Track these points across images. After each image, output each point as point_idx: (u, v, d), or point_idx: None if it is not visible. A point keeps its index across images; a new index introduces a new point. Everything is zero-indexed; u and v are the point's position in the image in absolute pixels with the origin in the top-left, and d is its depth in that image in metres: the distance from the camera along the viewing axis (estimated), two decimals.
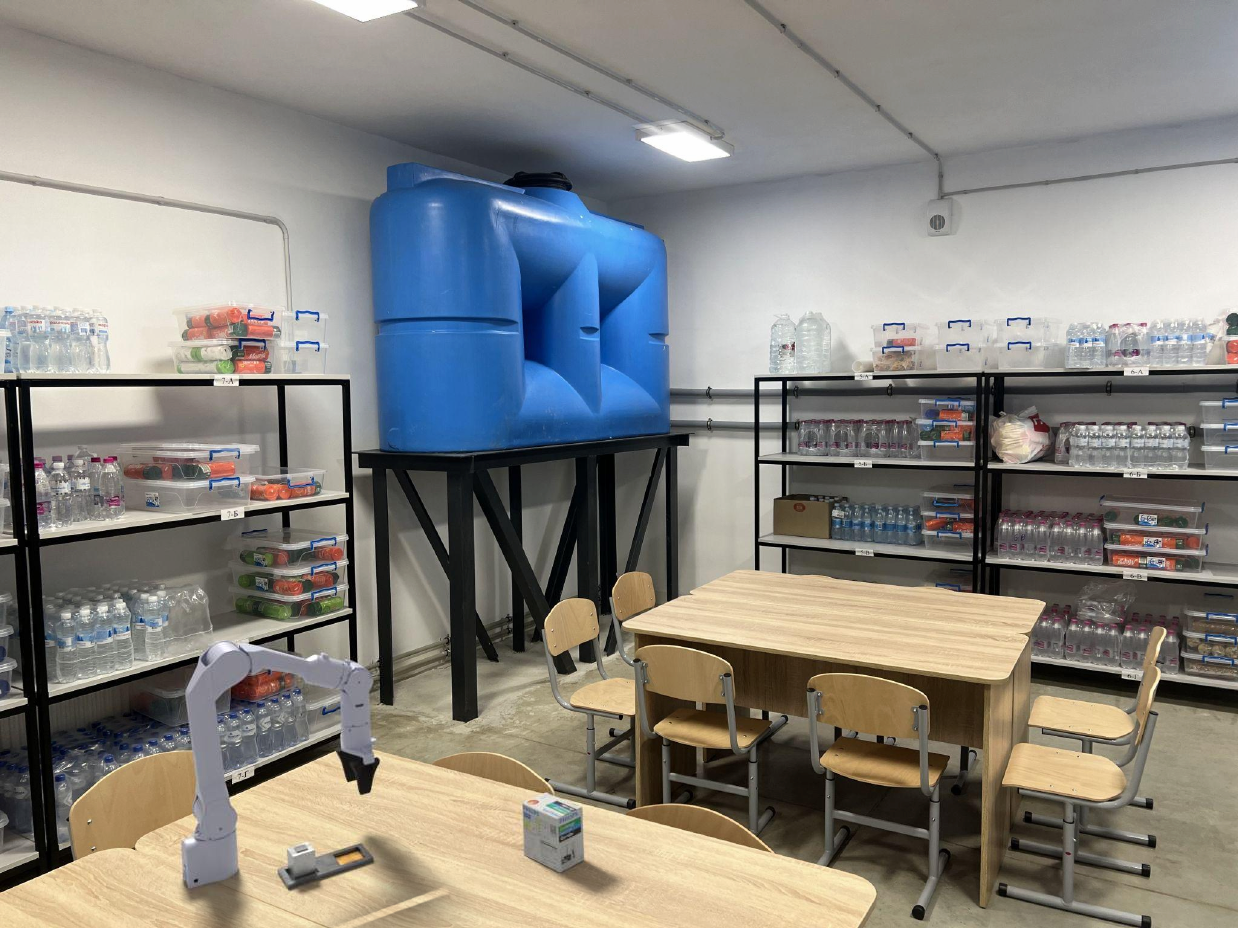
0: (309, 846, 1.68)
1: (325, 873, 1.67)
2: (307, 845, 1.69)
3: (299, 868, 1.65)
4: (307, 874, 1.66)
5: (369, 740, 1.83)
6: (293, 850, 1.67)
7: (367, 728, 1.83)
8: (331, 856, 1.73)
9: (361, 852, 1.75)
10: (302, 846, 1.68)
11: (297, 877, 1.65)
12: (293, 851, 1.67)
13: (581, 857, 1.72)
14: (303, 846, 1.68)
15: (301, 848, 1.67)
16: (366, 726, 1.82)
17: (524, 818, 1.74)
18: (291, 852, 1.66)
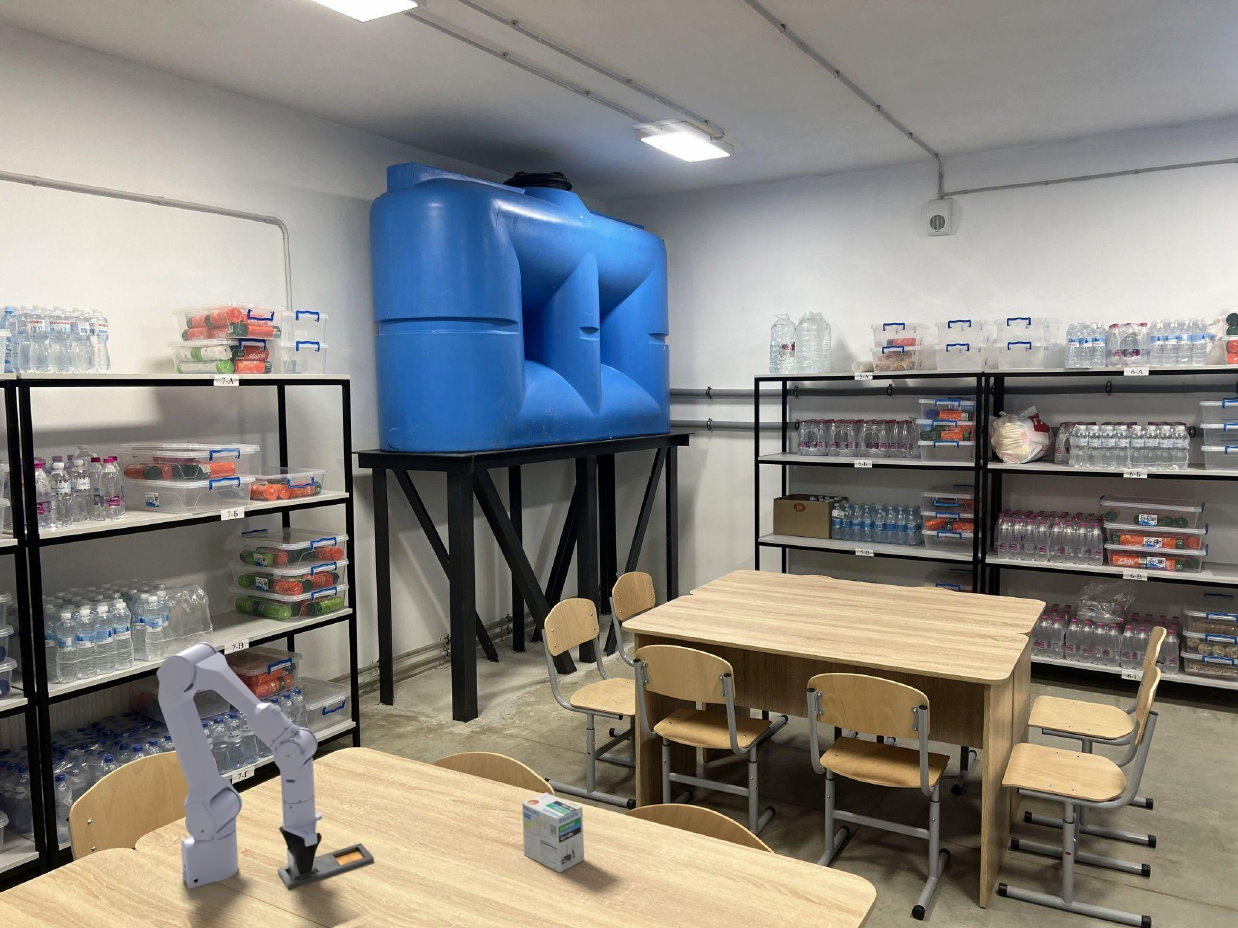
0: None
1: (325, 873, 1.67)
2: None
3: None
4: (307, 874, 1.66)
5: (313, 817, 1.67)
6: None
7: (310, 804, 1.66)
8: (331, 856, 1.73)
9: (361, 852, 1.75)
10: None
11: (297, 877, 1.65)
12: None
13: (581, 857, 1.72)
14: None
15: None
16: (309, 802, 1.66)
17: (524, 818, 1.74)
18: (291, 852, 1.66)
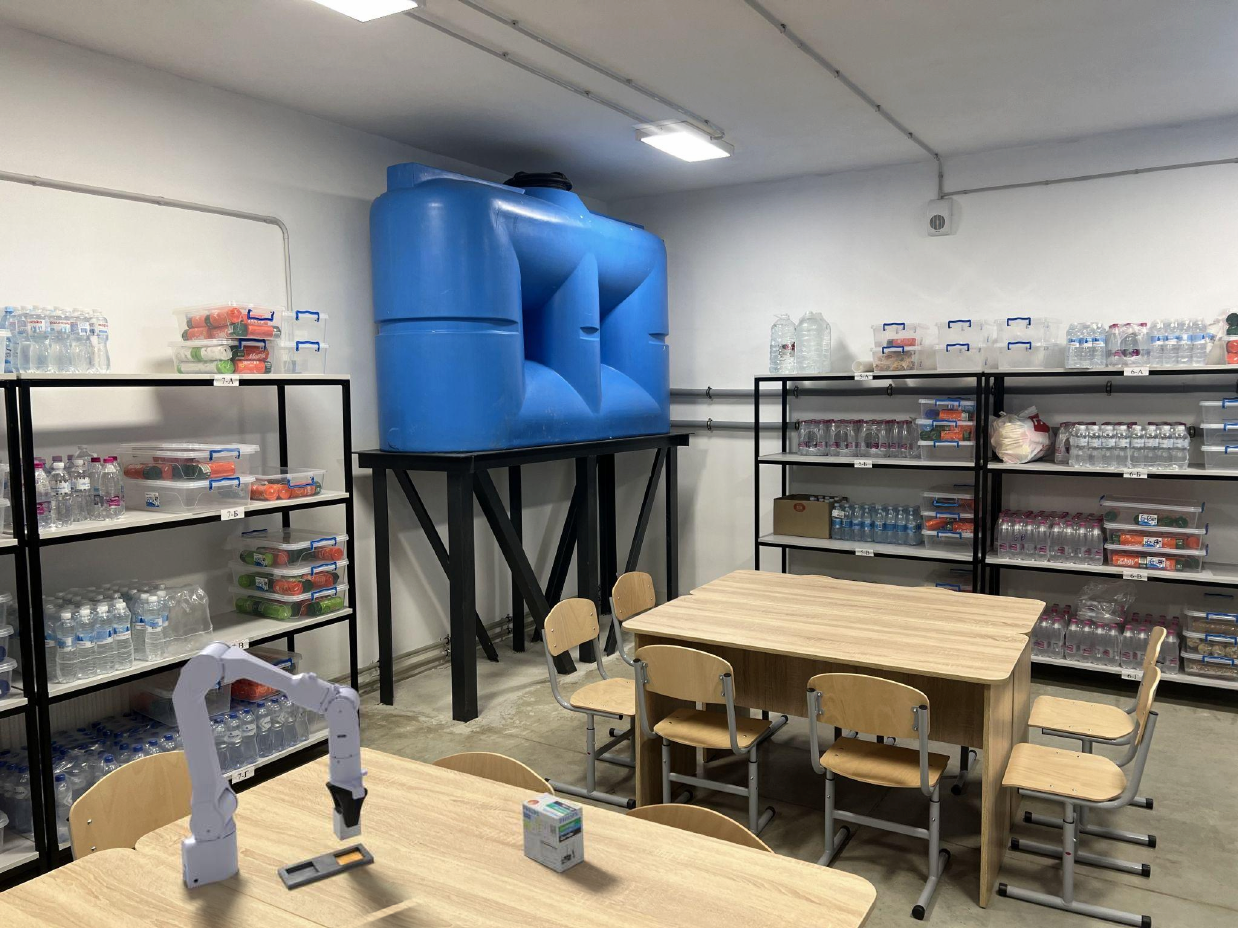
0: None
1: (325, 873, 1.67)
2: None
3: (345, 827, 1.70)
4: (352, 833, 1.71)
5: (359, 772, 1.71)
6: (339, 809, 1.72)
7: (357, 759, 1.71)
8: (331, 856, 1.73)
9: (361, 852, 1.75)
10: None
11: (343, 835, 1.70)
12: (339, 810, 1.71)
13: (581, 857, 1.72)
14: None
15: None
16: (356, 757, 1.70)
17: (524, 818, 1.74)
18: (337, 811, 1.71)
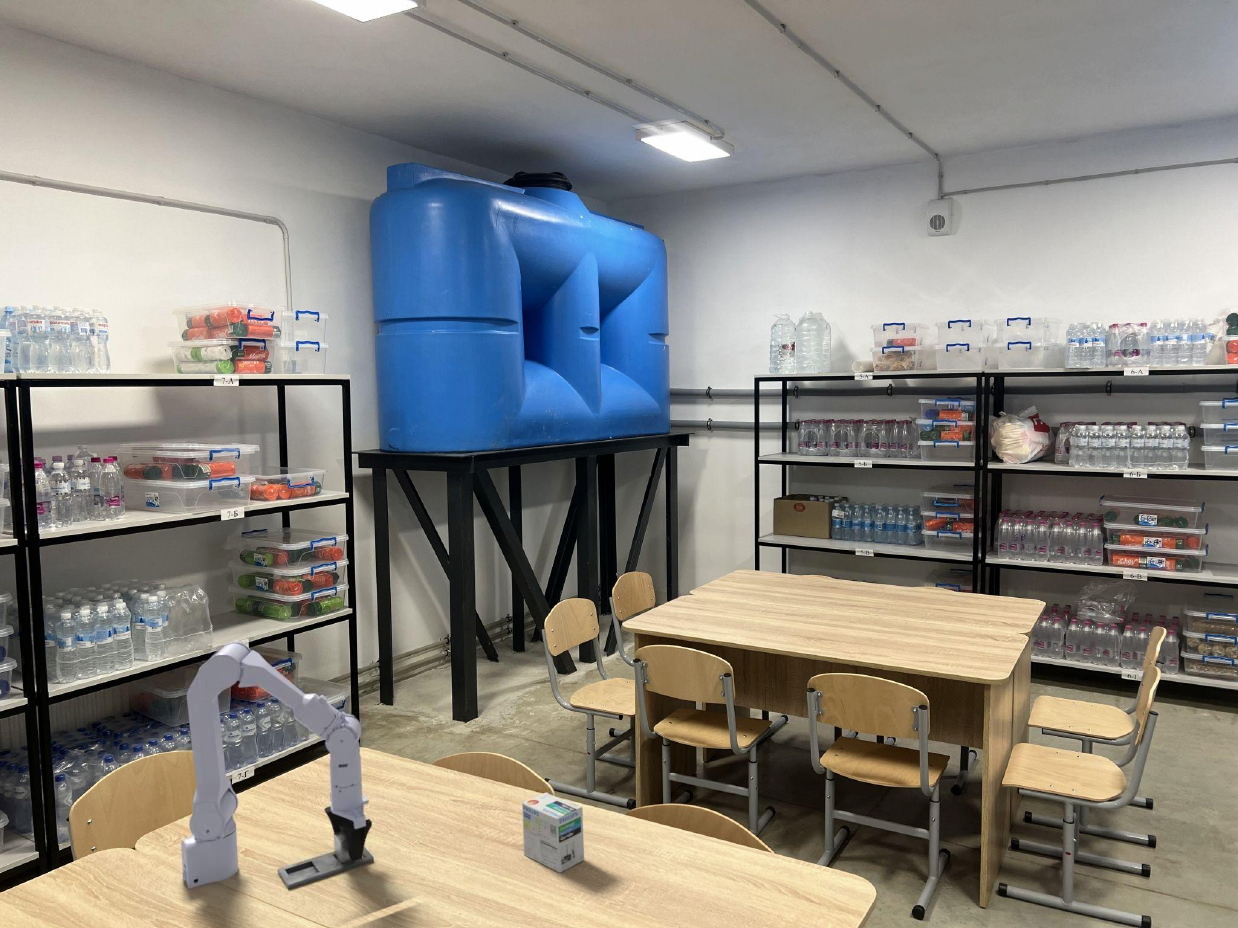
0: None
1: (325, 873, 1.67)
2: None
3: (346, 853, 1.71)
4: None
5: (360, 800, 1.72)
6: (340, 835, 1.72)
7: (358, 788, 1.71)
8: (331, 856, 1.73)
9: None
10: None
11: (344, 861, 1.70)
12: (340, 836, 1.72)
13: (581, 857, 1.72)
14: None
15: None
16: (357, 786, 1.71)
17: (524, 818, 1.74)
18: (338, 837, 1.71)
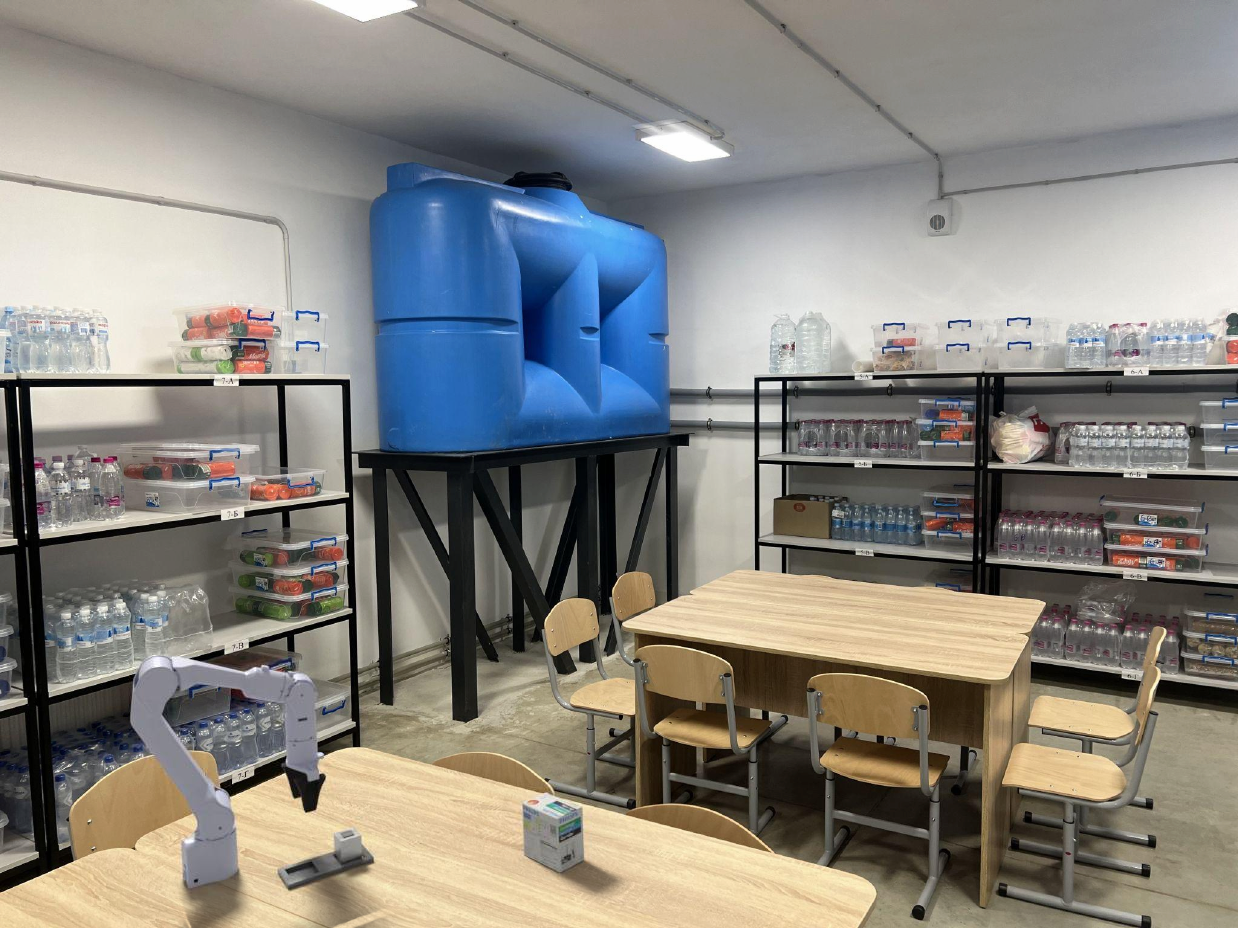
0: (355, 831, 1.73)
1: (325, 873, 1.67)
2: (353, 831, 1.74)
3: (346, 853, 1.71)
4: (354, 858, 1.72)
5: (315, 755, 1.75)
6: (340, 835, 1.72)
7: (313, 743, 1.75)
8: (331, 856, 1.73)
9: None
10: (348, 831, 1.73)
11: (344, 861, 1.70)
12: (340, 836, 1.72)
13: (581, 857, 1.72)
14: (349, 831, 1.73)
15: (348, 834, 1.72)
16: (312, 741, 1.74)
17: (524, 818, 1.74)
18: (338, 837, 1.71)
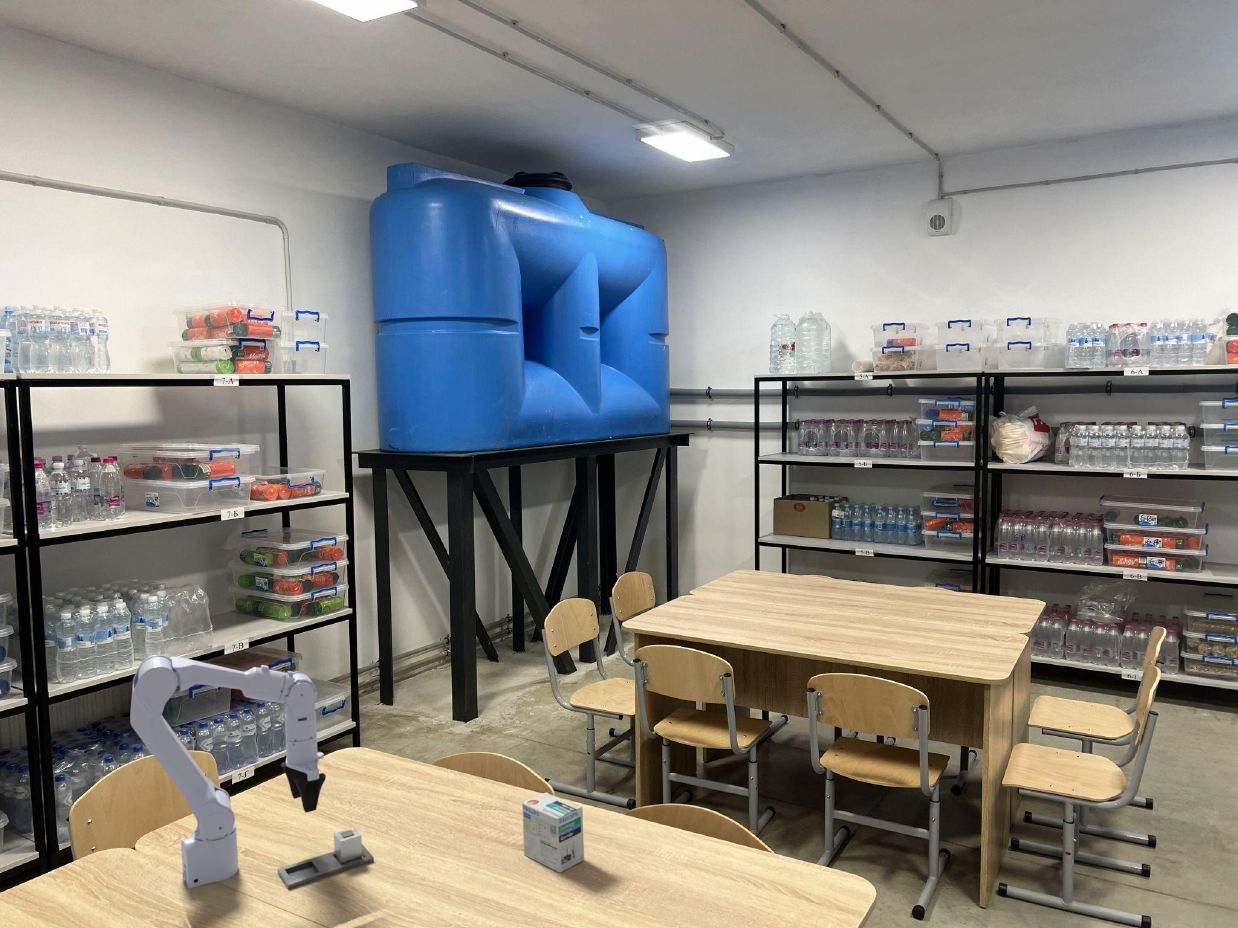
0: (355, 831, 1.73)
1: (325, 873, 1.67)
2: (353, 831, 1.74)
3: (346, 853, 1.71)
4: (354, 858, 1.72)
5: (315, 755, 1.75)
6: (340, 835, 1.72)
7: (313, 742, 1.75)
8: (331, 856, 1.73)
9: None
10: (348, 831, 1.73)
11: (344, 861, 1.70)
12: (340, 836, 1.72)
13: (581, 857, 1.72)
14: (349, 831, 1.73)
15: (348, 834, 1.72)
16: (311, 740, 1.74)
17: (524, 818, 1.74)
18: (338, 837, 1.71)
